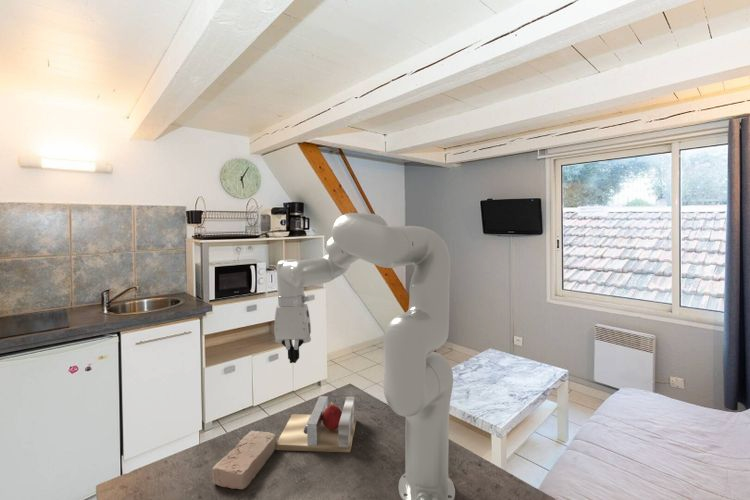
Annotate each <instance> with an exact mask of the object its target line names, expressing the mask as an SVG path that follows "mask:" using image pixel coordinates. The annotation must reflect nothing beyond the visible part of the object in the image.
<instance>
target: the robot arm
mask: <svg viewBox="0 0 750 500" xmlns="http://www.w3.org/2000/svg"><path fill="white" fill-rule="evenodd" d="M325 247H326V248H325V250H326V253H327V255H325V256H323V257H318V258H317V257H316V258H310V259H302V260H300V259H295V258H293V259H292V258H288V259H287V258H286V259H281V260H279V261H278V262H276V280H277V284H276V285H277V303H278V304H277V305H276V306H275V307H276V308H275V314H274V333H273V334H274V337H275V338H274V343H276V344H277V343H278V344H281V345H283V346H284V347H285V350H286V351H287V359H288V360H289V364H296V363H297V362H298V360H299V359H300V347H301V346H302V345H303V344H307V343H310V342H311V341H312V336H311V333H312V326H311V325H312V324H311V317H310V311H309V306H308V303H306V302H309V300H310V297H309V296H306V295H305V289H304V288H307V287H311V286H317V285H321V284H322V285H323V284H327V283H329V282H331V281H334V280H335V279H337V278H339V277H340V276H342V275H343V274H345V273H346V272H347V271H348V270H349V268H350V266H351V265H352V264H353V263H355V262H357V261H358V260H359V259H361V260H363V261H366V262H367V263H370V264H372V265H375V266H377V267H380V268H381V267H382V268H385V269H388V268H389V269H395V268H400V267H404V266H410V265H412V266H414V270H413V272H412V276H411V280H410V283H409V290H408V291H409V299H408V300H409V301H408V302H409V303H408V309H407V311H405V312H403V313H401V314H399V315H397V316H395V317H394V318H392V319H391V320H390V322H389V323H388V324H387V326H386V329H385V331H384V335H383V343H382V347H383V348H382V349H383V350H382V351H383V353H382V354H383V357H382V358H383V359H382V386H383V387H382V389H383V394H384V398H385V400H386V403H387V404H388V406H389V408H390V409H391V411H392V412H394V413H395V414H396V415H399V416H400V417H404V418H405V429H404V430H405V431H404V432H405V434H404V435H405V450H404V453H405V455H404V456H405V457H404V458H405V459H404V460H405V462H404V463H405V465H404V467H405V469H404V471H405V472H404V473H403V474H402V475H401V477H400V479H399V481H398V494H399V497H400V499H401V500H455V498H456V488H455V485H454V482H453V480H452V479H451V478H450V477H449V443H450V442H449V441H450V440H449V439H450V438H449V435H450V434H449V431H450V409H451V407H450V406H451V397H452V393H453V386H454V385H453V384H454V373H453V369H452V366H451V363H449V361H448V359H447V358H446V357H445V356H444V355H442V354H441V353H439V352H436V351H437V350H438V349H439V348H441V347H443V345H444V344H445V343H446V342H447V340H448V338H449V333H450V332H449V328H450V281H451V256H450V250H449V248H448V246H447V244H446V242H445V240H444V239H443V238H442V237H441V236H440V235H439V234H437V232H435V231H434V230H432V229H430V228H428V227H427V228H426V227H424V226H417V225H405V226H389V225H388V223H387V221H386V220H385V219H384V218H383V217H382V216H380V215H378V214H375V213H370V212H369V213H368V212H366V213H365V212H349V213H344V214H342V215H340V216H339V217H338V218H337V219H336V220H335V222H334V224H333V226H332V229H331V237H330V238H329V239H328V240H327V242H326V245H325ZM293 340H294V341H293ZM293 342H294V343H293ZM293 344H294V345H293Z"/></svg>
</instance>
